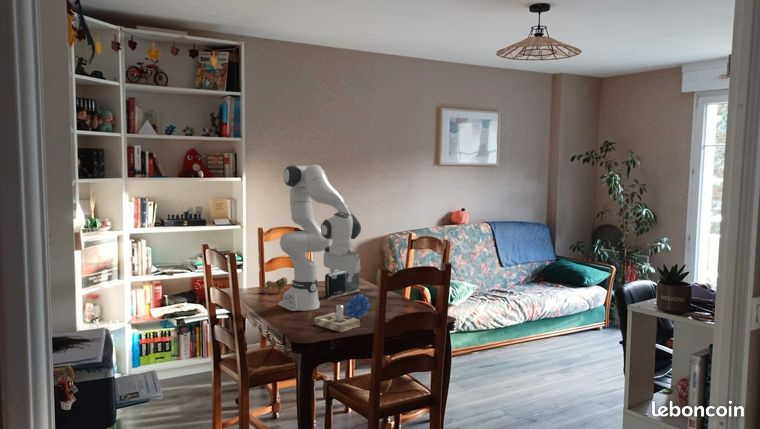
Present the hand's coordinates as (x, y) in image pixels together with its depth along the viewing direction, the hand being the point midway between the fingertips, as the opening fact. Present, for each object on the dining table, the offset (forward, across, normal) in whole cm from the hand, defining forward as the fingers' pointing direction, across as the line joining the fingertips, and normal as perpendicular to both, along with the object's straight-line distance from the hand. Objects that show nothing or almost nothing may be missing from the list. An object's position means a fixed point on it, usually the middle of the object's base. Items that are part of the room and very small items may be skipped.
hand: (341, 280), depth 250 cm
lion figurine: (+22, +71, -19) cm, 77 cm away
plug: (+21, -1, +2) cm, 21 cm away
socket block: (+21, +2, 0) cm, 21 cm away
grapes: (+22, +3, -14) cm, 26 cm away
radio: (+22, +41, -41) cm, 62 cm away
